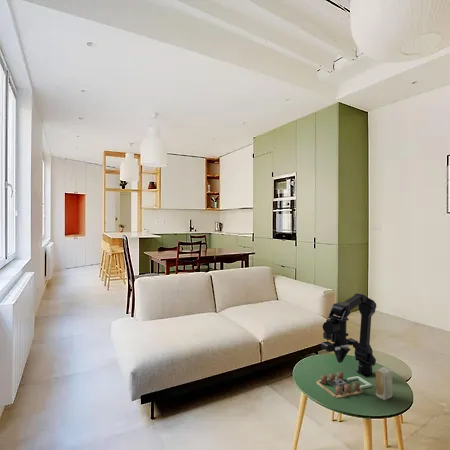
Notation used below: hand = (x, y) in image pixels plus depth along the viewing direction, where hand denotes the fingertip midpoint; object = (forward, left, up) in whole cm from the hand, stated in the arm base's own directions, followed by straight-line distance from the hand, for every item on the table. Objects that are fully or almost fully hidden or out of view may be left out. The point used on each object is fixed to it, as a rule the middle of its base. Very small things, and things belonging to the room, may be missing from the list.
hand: (339, 362), depth 145 cm
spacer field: (0, 0, -12) cm, 12 cm away
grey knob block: (0, 0, -12) cm, 12 cm away
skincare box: (-14, +13, -12) cm, 23 cm away
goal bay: (-12, 0, -12) cm, 17 cm away
